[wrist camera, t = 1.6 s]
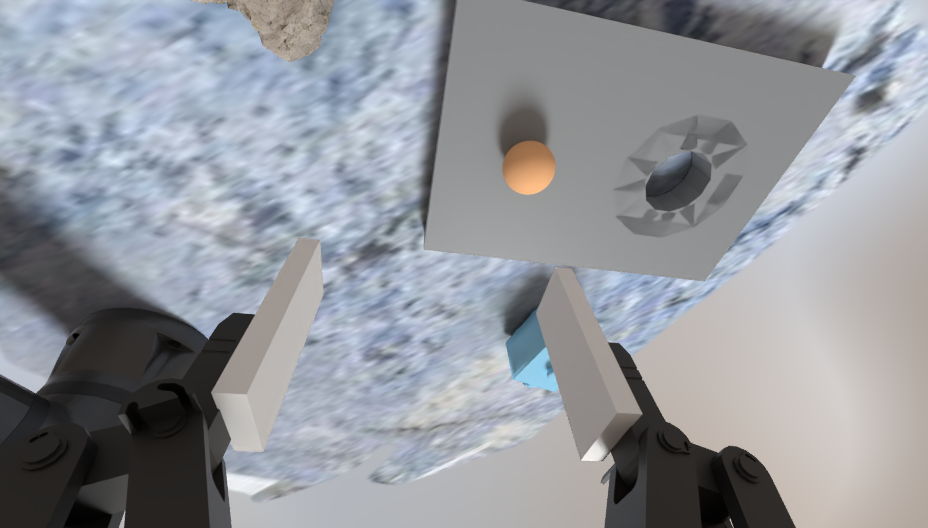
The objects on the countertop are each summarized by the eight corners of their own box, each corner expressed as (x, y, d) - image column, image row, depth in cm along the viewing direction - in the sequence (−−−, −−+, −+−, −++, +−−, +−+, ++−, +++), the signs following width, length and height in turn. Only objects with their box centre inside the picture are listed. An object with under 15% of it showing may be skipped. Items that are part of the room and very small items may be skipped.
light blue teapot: (554, 280, 41) (573, 329, 35) (594, 298, 43) (618, 347, 37) (498, 344, 47) (507, 394, 41) (535, 356, 49) (549, 407, 43)
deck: (424, 232, 36) (423, 249, 34) (457, -14, 25) (459, -15, 22) (688, 264, 41) (704, 281, 39) (821, 68, 29) (855, 75, 27)
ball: (494, 177, 30) (500, 199, 27) (505, 129, 28) (514, 147, 25) (539, 184, 31) (551, 206, 28) (554, 137, 28) (569, 156, 25)
